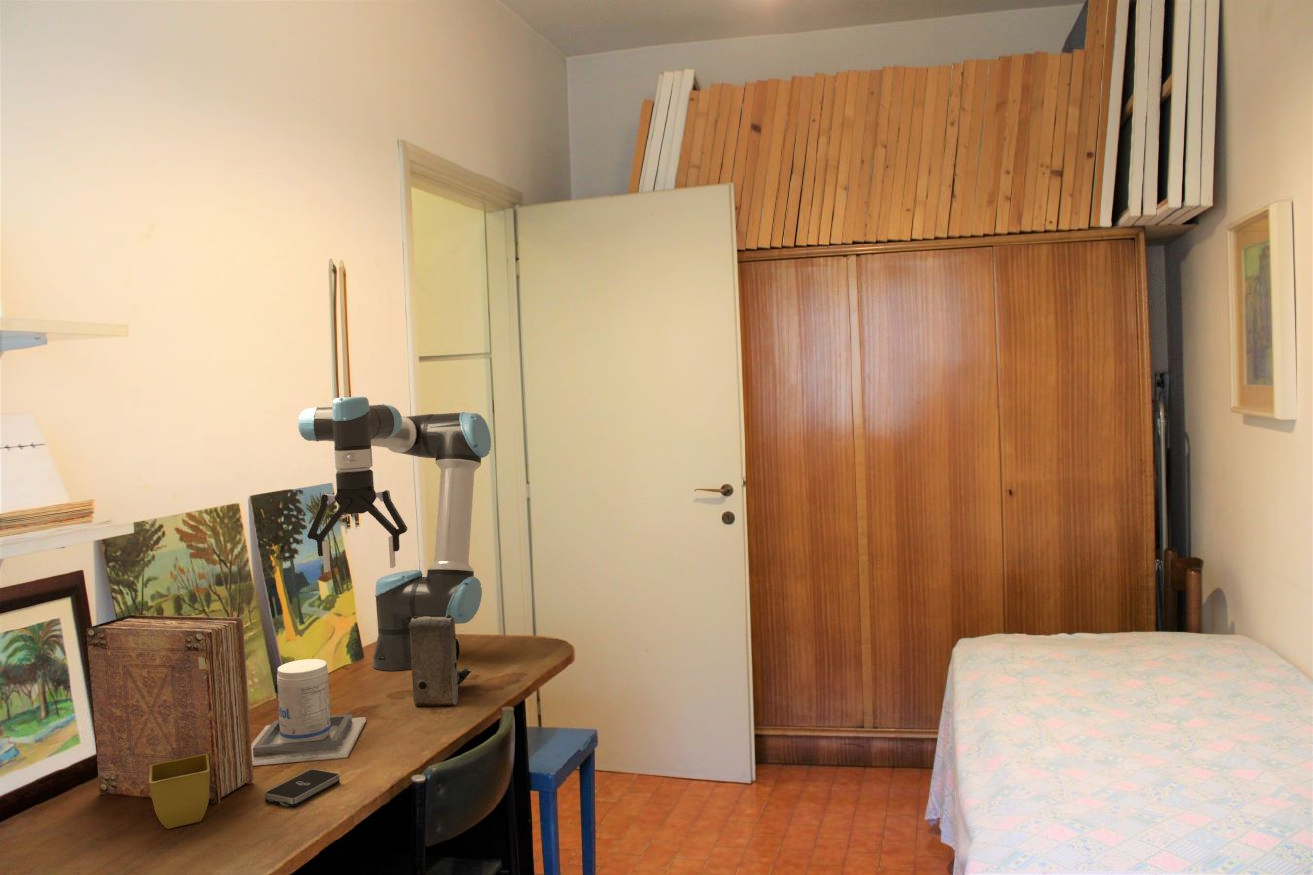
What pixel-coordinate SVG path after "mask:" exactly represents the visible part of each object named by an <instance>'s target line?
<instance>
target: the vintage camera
mask: <svg viewBox="0 0 1313 875" xmlns="http://www.w3.org/2000/svg"><path fill="white" fill-rule="evenodd" d="M409 632H410V638H411V661H412V669H411V676H412V677H411V678H412V692H413V693H412V694H413V695H412V696H413V699H412V700H413V703H414V706H418V707H420V706H422V707H423V706H430V707H431V706H432V707H433V706H434V707H436V706H437V707H438V706H457V704H458V701H459V686H460V684H462V683H463V682H464V681H465V680H466V679H467V678H468V676H470V674H471V673H472V670H469V668H467V667H464V668H463V669H462V670H458V666H457V661H458V659H459V656H460V643H459V639H457V637H456V635H457V634H456V624H455V620H454V618H453V617H452V616H451V615H447V616H441V617H418V616H414V618H412V619H411V622H410V624H409Z"/></svg>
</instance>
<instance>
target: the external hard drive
mask: <svg viewBox="0 0 1313 875" xmlns="http://www.w3.org/2000/svg"><path fill="white" fill-rule="evenodd" d="M340 782H341V781H340V773H337V772H334V771H333V772H332V771H326V770H320V769H315V768H311V769H308V770H306V771H304V772H302V773H300V774H298V775H296V776H294V777H293V778H290V779H288V780H286V781H284V782H282V783H281V784H278V785H277V786H275V787H272V788H271V789H268V790H267V791H265V792H264V794H265V795H264V796H265V802H266V803H268V804H272V805H276V806H282V807H287V808H291V809H292V808H293V809H295V808H297V807H299V806H301V805H303V804H305V803H306V802H308V801H310V800H312V799H314V798H316V797H318V796H319V795H321V794H323V793H324V792H327V791H328V790H330V789H333V788H334V787H336V786H338V785H339V784H340Z"/></svg>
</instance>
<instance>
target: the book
mask: <svg viewBox="0 0 1313 875" xmlns="http://www.w3.org/2000/svg"><path fill="white" fill-rule="evenodd" d="M85 632H86V633H85V634H86V644H87V654H88V667H89V668H88V669H89V679H90V691H91V692H90V693H91V702H92V706H91V707H92V716H93V728H94V741H95V742H94V743H95V751H96V752H95V753H96V766H97V774H98V775H97V778H98V779H97V780H98V789H99V794H101V795H110V796H120V797H121V796H122V797H129V798H130V797H131V798H141V799H148V800H149V799H150V800H152V796H151V791H150V786H149V774H150V765H153V764H157V763H162V762H167V761H173V760H178V759H183V758H188V757H192V756H197V755H202V754H208V757H209V766H210V783H209V801H208V805H213V806H218V805H220V803H221V799H222V798H224V797H225V796H227V795H230V793H232V792H233V791H235V790H237V789H239V788H240V787H242V786H244V785H251V784H253V783H254V781H255V780H254V766H253V764H252V749H251V744H252V738H251V737H252V736H251V724H250V723H251V722H250V708H249V691H248V690H249V689H248V677H247V663H246V662H247V660H246V659H247V658H246V647H245V634H244V633H245V631H244V619H243V618H242V617H229V616H228V617H225V616H223V617H222V616H193V615H192V616H189V615H188V616H186V615H184V616H183V615H145V614H143V615H141V614H130V615H126V616H122V617H118V618H116V619H112V620H109V621H106V622H105V621H104V622H103V623H102V622H101V623H99V624H95V625H92V626H89V627H87V628H86V629H85ZM245 783H246V784H245Z"/></svg>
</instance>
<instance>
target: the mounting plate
mask: <svg viewBox="0 0 1313 875" xmlns="http://www.w3.org/2000/svg"><path fill="white" fill-rule="evenodd" d="M366 720H367V719H366V716H362V717H353V715H352V714H351V713H348V714H337V715H330V721H331V732H330V734H329V735H328V736H327V737H326V738H325V739H323V740H315V741H304V742H292V743H283V742H282V741H281V739H280V725H279V719H277V720H276V719H275V720H274V721H273V722H272V723H271V724H267V725H265V726H264V728H263V729H262V730H261V731H260V732H259V734H258V735H257V737H256V738H255V739H254V740H253V741H252V742H251V749H252V764H253V767H256V766H267V765H278V764H280V765H281V764H289V763H300V762H310V761H311V762H312V761H322V760H323V761H325V760H333V759H345V758H349V755H350V754H351V752H352V749H353V748H354V746H355V744H356V741H357V740H358V737H359V736H360V734H361V733H362V729H363V728H364V727H365V726H364V725H365V724H366V722H367V721H366Z"/></svg>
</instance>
